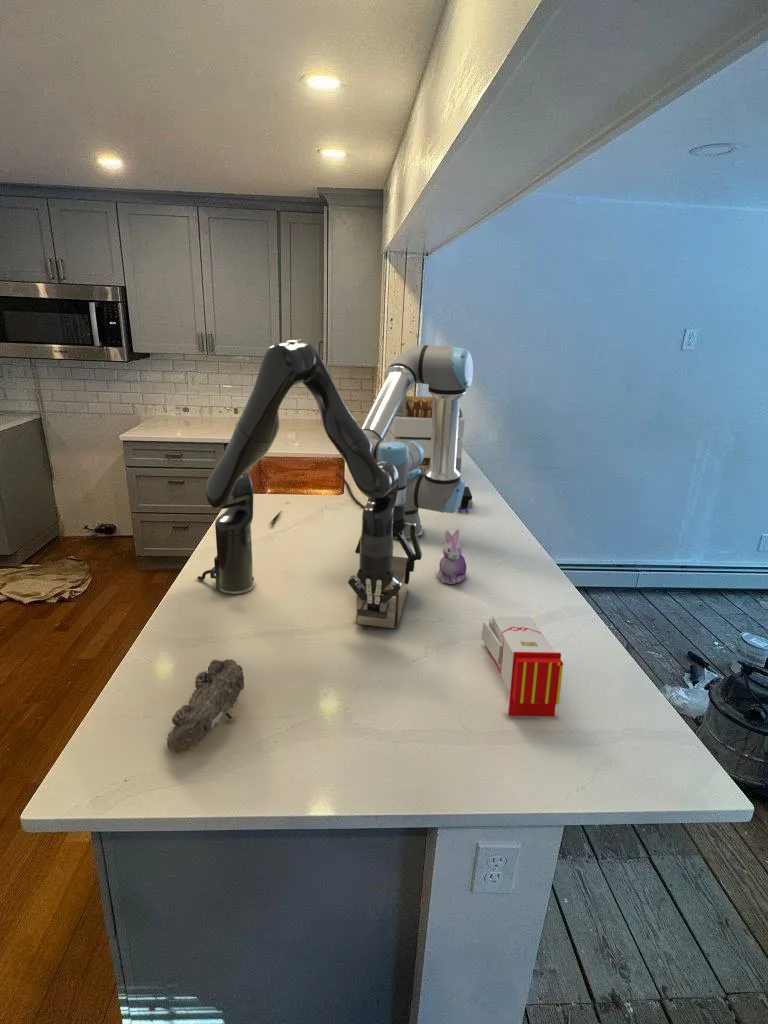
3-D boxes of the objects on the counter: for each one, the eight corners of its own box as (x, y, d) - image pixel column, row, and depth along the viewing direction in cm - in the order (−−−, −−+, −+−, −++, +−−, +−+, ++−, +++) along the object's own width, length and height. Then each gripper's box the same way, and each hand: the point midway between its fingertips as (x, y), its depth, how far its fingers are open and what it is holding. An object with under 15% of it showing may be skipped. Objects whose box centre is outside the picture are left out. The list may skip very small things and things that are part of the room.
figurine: (448, 588, 162) (452, 539, 157) (429, 573, 171) (432, 527, 166) (475, 582, 166) (480, 534, 161) (455, 568, 175) (459, 522, 170)
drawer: (390, 641, 134) (391, 610, 131) (352, 636, 135) (352, 605, 132) (403, 593, 156) (405, 565, 154) (371, 589, 158) (372, 562, 155)
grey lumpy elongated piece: (192, 660, 117) (244, 628, 112) (224, 691, 120) (276, 661, 115) (142, 746, 98) (202, 712, 93) (182, 779, 101) (242, 748, 96)
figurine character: (472, 517, 222) (467, 501, 236) (475, 500, 219) (469, 484, 233) (455, 517, 222) (451, 500, 236) (457, 499, 219) (452, 484, 232)
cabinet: (397, 627, 141) (399, 591, 138) (356, 622, 143) (357, 586, 139) (407, 591, 160) (409, 557, 156) (371, 586, 161) (372, 553, 158)
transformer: (382, 463, 289) (386, 382, 275) (445, 464, 293) (451, 384, 279) (390, 482, 257) (394, 392, 243) (460, 483, 261) (468, 394, 247)
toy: (528, 601, 136) (572, 659, 107) (523, 653, 139) (565, 722, 110) (478, 600, 136) (508, 657, 107) (474, 652, 139) (503, 722, 109)
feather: (288, 505, 226) (290, 501, 226) (271, 529, 199) (273, 524, 199) (284, 503, 226) (287, 499, 225) (266, 526, 199) (269, 522, 199)
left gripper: (344, 552, 127) (342, 620, 133) (402, 559, 125) (398, 627, 131) (351, 540, 134) (349, 604, 140) (407, 545, 132) (403, 611, 138)
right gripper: (344, 502, 145) (343, 580, 152) (434, 511, 142) (427, 590, 149) (350, 494, 152) (349, 568, 159) (436, 502, 149) (430, 578, 156)
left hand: (373, 615), depth 135 cm, fingers closed
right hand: (387, 579), depth 154 cm, fingers closed on cabinet, 10 cm apart
